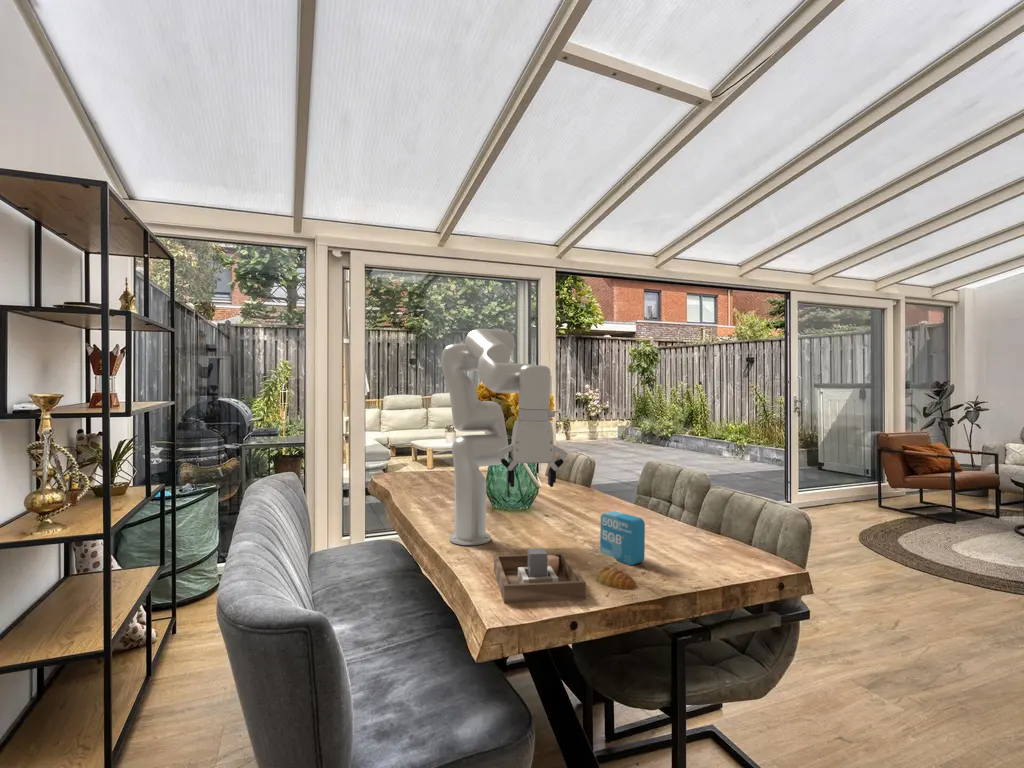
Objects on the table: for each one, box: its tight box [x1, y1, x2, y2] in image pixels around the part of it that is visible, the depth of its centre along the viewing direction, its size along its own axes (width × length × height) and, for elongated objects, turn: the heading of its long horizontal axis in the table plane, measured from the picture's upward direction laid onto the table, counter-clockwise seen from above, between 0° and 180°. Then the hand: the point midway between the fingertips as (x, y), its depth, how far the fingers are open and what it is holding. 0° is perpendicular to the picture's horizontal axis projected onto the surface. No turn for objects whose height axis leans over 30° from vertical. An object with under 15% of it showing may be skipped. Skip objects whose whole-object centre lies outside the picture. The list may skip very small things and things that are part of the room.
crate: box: [493, 552, 587, 604], centre depth 127 cm, size 20×18×4 cm
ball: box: [547, 555, 559, 576], centre depth 133 cm, size 4×4×4 cm
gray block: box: [527, 547, 549, 577], centre depth 126 cm, size 4×4×8 cm
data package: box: [599, 510, 646, 566], centre depth 147 cm, size 12×4×12 cm, turn 39°
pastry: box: [596, 566, 638, 591], centre depth 128 cm, size 9×7×4 cm
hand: (531, 485), depth 131 cm, fingers open, 9 cm apart
